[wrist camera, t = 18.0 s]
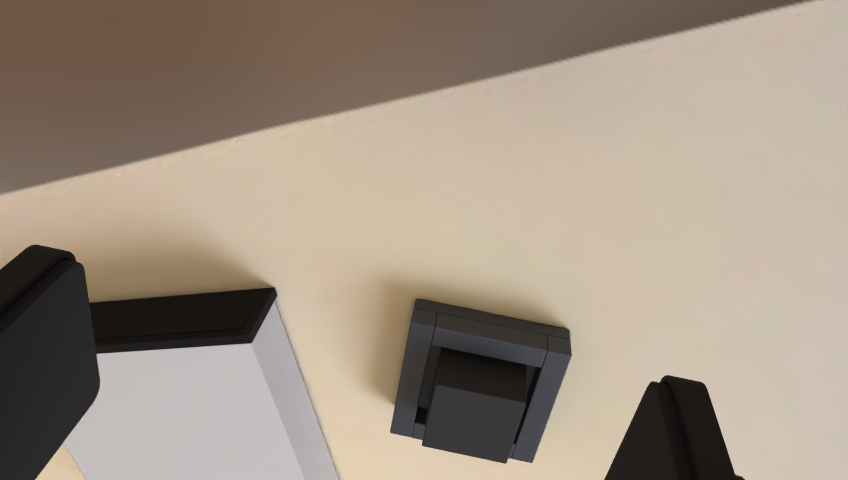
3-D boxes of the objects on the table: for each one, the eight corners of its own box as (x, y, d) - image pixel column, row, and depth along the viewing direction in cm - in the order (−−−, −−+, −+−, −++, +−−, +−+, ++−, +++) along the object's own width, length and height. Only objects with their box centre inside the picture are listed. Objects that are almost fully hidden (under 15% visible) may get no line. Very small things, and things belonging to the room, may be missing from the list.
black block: (429, 401, 46) (421, 446, 43) (442, 341, 43) (435, 384, 40) (507, 417, 46) (506, 464, 42) (526, 358, 43) (526, 403, 40)
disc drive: (274, 285, 44) (247, 334, 40) (354, 510, 55) (339, 566, 51) (44, 305, 47) (-4, 351, 43) (162, 511, 58) (134, 564, 54)
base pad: (395, 407, 48) (389, 433, 46) (416, 297, 43) (410, 322, 41) (532, 435, 48) (532, 463, 46) (569, 329, 43) (571, 355, 40)
